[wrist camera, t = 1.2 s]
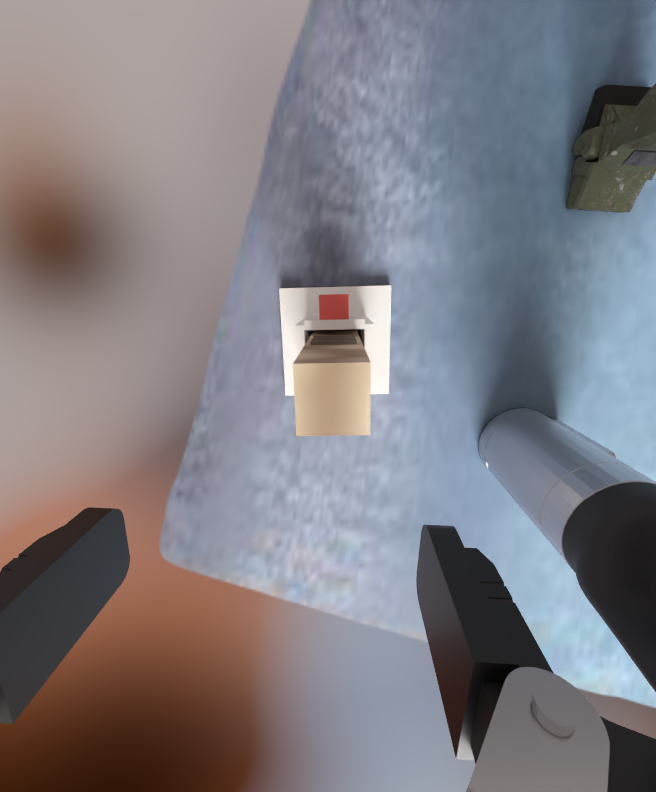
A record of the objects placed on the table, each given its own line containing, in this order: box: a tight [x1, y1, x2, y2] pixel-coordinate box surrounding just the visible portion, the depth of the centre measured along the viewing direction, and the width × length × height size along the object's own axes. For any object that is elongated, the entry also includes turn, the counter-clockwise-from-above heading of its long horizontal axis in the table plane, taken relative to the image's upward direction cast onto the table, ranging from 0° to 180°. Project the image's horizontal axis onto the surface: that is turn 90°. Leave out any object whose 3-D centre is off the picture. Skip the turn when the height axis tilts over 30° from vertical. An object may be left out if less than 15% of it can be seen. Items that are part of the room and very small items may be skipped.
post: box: [293, 329, 371, 436], centre depth 29 cm, size 4×4×22 cm
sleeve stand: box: [279, 285, 391, 395], centre depth 36 cm, size 12×12×12 cm
